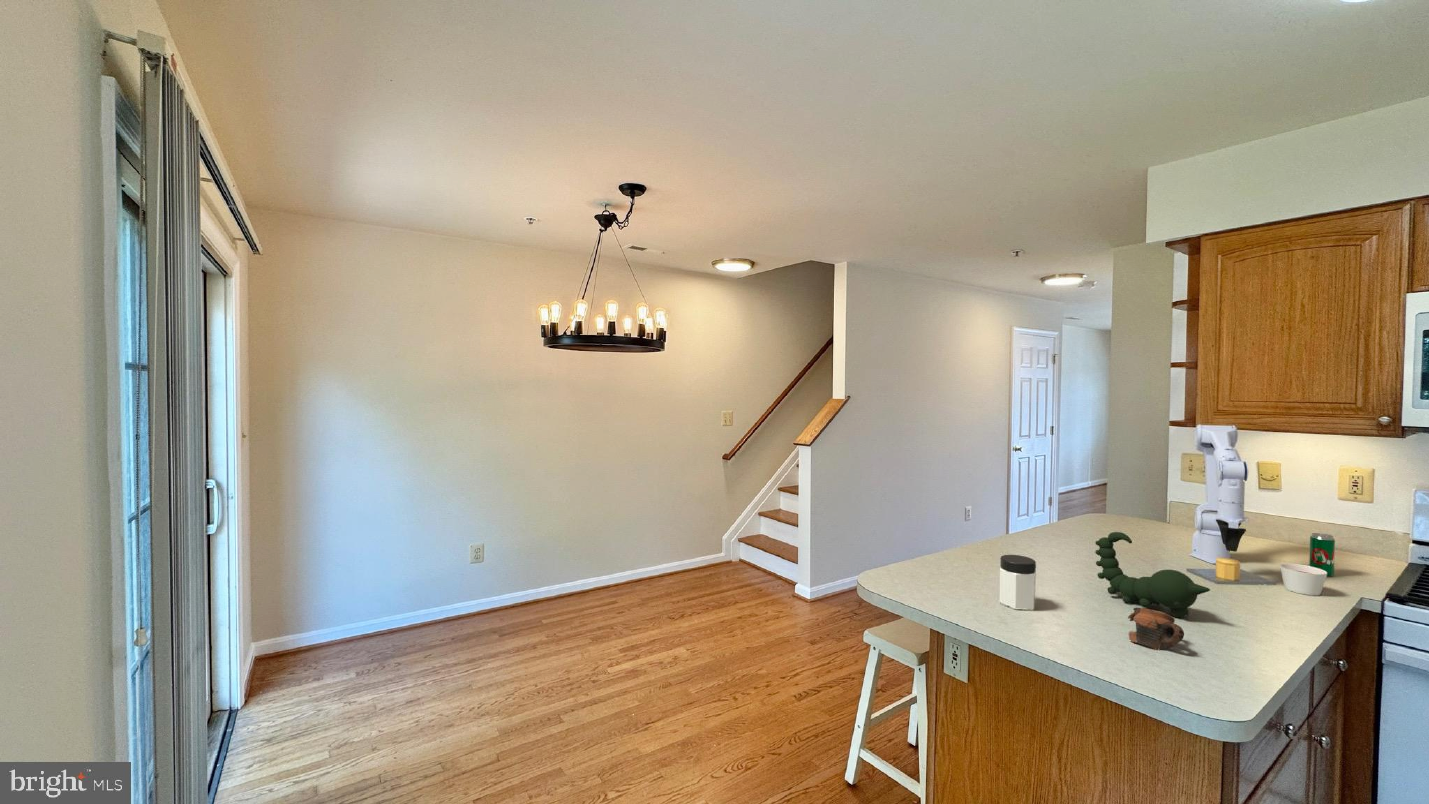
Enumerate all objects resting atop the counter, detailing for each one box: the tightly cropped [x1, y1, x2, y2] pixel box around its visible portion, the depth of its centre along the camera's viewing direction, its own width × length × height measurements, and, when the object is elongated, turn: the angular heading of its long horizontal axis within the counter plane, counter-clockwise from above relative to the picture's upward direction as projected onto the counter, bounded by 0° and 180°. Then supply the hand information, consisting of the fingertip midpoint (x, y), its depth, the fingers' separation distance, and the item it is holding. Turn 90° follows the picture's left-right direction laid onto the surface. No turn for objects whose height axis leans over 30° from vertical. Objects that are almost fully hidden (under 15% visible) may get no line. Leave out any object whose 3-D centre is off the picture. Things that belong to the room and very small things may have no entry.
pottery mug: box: [1127, 607, 1185, 650], centre depth 124 cm, size 12×10×8 cm
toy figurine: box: [1094, 531, 1211, 618], centre depth 143 cm, size 9×19×25 cm
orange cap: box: [1215, 557, 1241, 580], centre depth 163 cm, size 5×5×5 cm
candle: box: [1279, 563, 1327, 597], centre depth 154 cm, size 9×9×6 cm
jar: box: [999, 554, 1037, 610], centre depth 146 cm, size 9×8×12 cm
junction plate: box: [1185, 568, 1276, 586], centre depth 165 cm, size 11×16×4 cm
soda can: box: [1308, 532, 1336, 578], centre depth 168 cm, size 5×5×12 cm
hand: (1229, 547), depth 164 cm, fingers open, 7 cm apart
